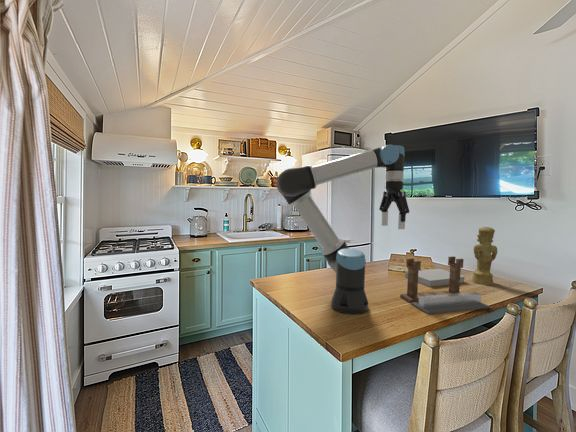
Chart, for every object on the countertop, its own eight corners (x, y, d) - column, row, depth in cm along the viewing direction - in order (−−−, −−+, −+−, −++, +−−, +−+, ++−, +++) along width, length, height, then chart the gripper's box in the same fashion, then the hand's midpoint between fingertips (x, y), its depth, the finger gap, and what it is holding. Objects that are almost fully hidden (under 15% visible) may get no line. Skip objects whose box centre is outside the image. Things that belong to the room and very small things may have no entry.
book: (465, 276, 155) (430, 280, 147) (465, 283, 155) (429, 288, 147) (437, 268, 172) (404, 271, 164) (437, 274, 172) (404, 277, 164)
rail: (423, 308, 118) (423, 298, 118) (418, 305, 121) (419, 296, 120) (480, 303, 124) (481, 294, 124) (474, 300, 127) (475, 291, 127)
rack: (409, 303, 126) (411, 262, 124) (400, 297, 132) (401, 258, 131) (466, 298, 132) (468, 259, 130) (454, 292, 139) (456, 255, 137)
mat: (427, 314, 114) (427, 312, 114) (411, 304, 124) (411, 302, 124) (489, 308, 121) (489, 306, 121) (469, 299, 131) (469, 297, 131)
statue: (490, 280, 159) (494, 226, 157) (498, 285, 150) (502, 228, 148) (467, 278, 162) (471, 225, 160) (474, 283, 153) (477, 227, 150)
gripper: (419, 180, 120) (417, 230, 122) (386, 181, 145) (385, 224, 146) (403, 179, 119) (401, 231, 121) (373, 181, 143) (371, 224, 145)
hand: (392, 227), depth 134 cm, fingers open, 13 cm apart
